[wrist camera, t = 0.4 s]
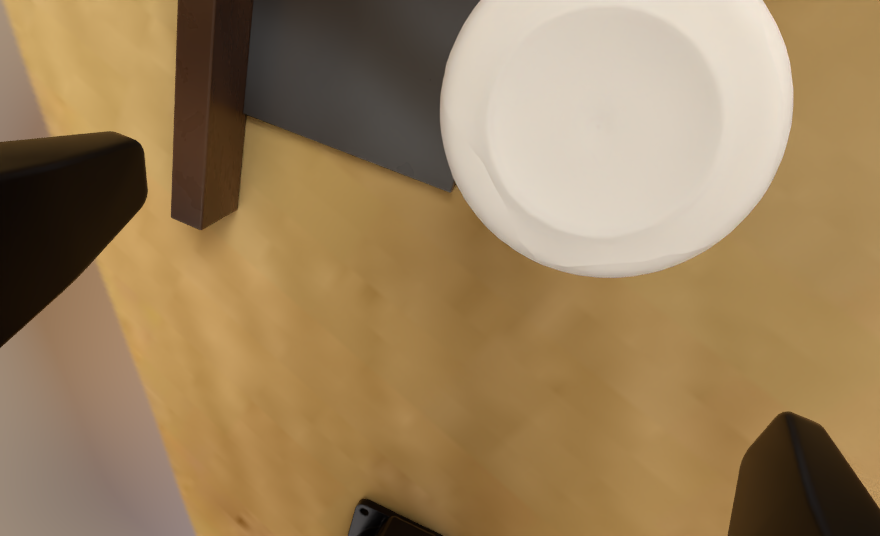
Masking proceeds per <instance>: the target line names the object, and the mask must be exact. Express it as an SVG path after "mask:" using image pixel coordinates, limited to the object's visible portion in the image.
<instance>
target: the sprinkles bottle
mask: <svg viewBox="0 0 880 536" xmlns="http://www.w3.org/2000/svg"><path fill="white" fill-rule="evenodd" d="M792 113H793V84H792V75H791V67H790V61H789V57H788V53H787V49H786V46H785V43H784V41H783V38H782V36H781V33H780V31H779V29H778V26H777V24H776V22H775V20H774V19H773V17H772V15H771V13H770V12H769V10H768V8H767V6H766V5H765V3H764V2H763V1H762V0H480V1H479V3H478V4H477V5H476V6H475V8H474V9H473V11H472V12H471V14H470V15H469V17H468V18H467V20H466V21H465V23H464V25H463V26H462V28H461V30H460V32H459V34H458V36H457V38H456V41H455V43H454V45H453V48H452V50H451V52H450V55H449V58H448V61H447V63H446V68H445V74H444V78H443V83H442V89H441V96H440V126H441V135H442V140H443V146H444V150H445V154H446V157H447V161H448V164H449V167H450V170H451V173H452V176H453V178H454V180H455V182H456V185H457V186H458V188H459V190H460V191H461V193H462V195H463V197H464V199H465V200H466V202H467V203H468V205H469V206H470V207H471V209H472V210H473V211H474V213H475V214H476V215H477V217H478V218H479V219H480V220H481V221H482V222H483V224H484V225H485V226H486V227H487V228H488V229H489V230H490V231H491V232H492V233H493V234H495V235H496V236H497V237H498V238H499V239H500V240H502V241H503V242H504V243H506V244H507V245H509V246H510V247H511V248H513V249H514V250H515V251H517V252H519V253H520V254H522V255H524V256H526V257H527V258H529V259H531V260H533V261H535V262H537V263H539V264H541V265H544V266H547V267H550V268H553V269H556V270H559V271H562V272H567V273H571V274H575V275H581V276H589V277H598V278H620V277H632V276H638V275H643V274H648V273H653V272H657V271H662V270H664V269H666V268H669V267H673V266H675V265H678V264H680V263H683V262H685V261H687V260H689V259H691V258H693V257H695V256H697V255H699V254H701V253H703V252H704V251H706V250H708V249H709V248H710V247H712V246H713V245H715V244H716V243H718V242H719V241H720V240H722V239H723V238H724V237H725V236H727V235H728V234H729V233H730V232H732V231H733V230H734V229H735V228H736V227H737V226H738V225H739V224H740V223H741V222H742V221H743V220H744V219H745V218H746V217H747V216H748V215H749V213H750V212H751V211H752V210H753V208H754V207H755V206H756V205H757V204H758V202H759V201H760V200H761V198H762V197H763V195H764V194H765V192H766V191H767V189H768V188H769V186H770V184H771V182H772V180H773V178H774V176H775V174H776V172H777V169H778V167H779V165H780V162H781V160H782V158H783V155H784V151H785V148H786V145H787V141H788V137H789V133H790V129H791V124H792Z"/></svg>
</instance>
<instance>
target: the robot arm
mask: <svg viewBox="0 0 880 536" xmlns="http://www.w3.org/2000/svg"><path fill="white" fill-rule="evenodd" d="M147 193H148V188H147V178H146V167H145V157H144V150H143V148H142V146H141V144H140V143H139V142H137V141H136V140H134V139H131V138H129V137H127V136H124V135H122V134H119V133H116V132H111V131H109V132H98V133H88V134H78V135H67V136H57V137H47V138H37V139H28V140H17V141H6V142H0V348H1V347H2V346H3V345H4V344H5V343H6V342H7V341H8V340H9V339H11V338H12V337H13V336H14V335H15V334H16V333H17V332H18V331H20V330H21V329H22V328H23V327H24V326H25V325H26V324H27V323H28V322H29V321H31V320H32V319H33V318H34V317H35V316H36V315H37V314H38V313H40V312H41V311H42V310H43V309H44V308H45V307H46V306H47V305H49V303H51V302H52V301H53V300H54V299H55V298H56V297H57V296H58V295H60V294H61V293H62V292H63V291H64V290H65V289H66V288H67V287H68V286H69V285H71V283H73V282H74V281H75V280H76V279H77V278H78V277H79V276H80V274H81V273H82V272H83V271H84V270H85V269H86V268H87V267H88V266H89V265H90V264H91V263H92V262H93V261H94V259H95V258H96V257H97V256H98V255H99V254H100V253H101V252H102V251H103V250H104V248H105V247H106V246H107V245H108V244H109V243H110V242H111V241H112V240H113V239H114V237H115V236H116V235H117V234H118V233H119V232H120V231H121V230H122V229H123V227H124V226H125V225H126V224H127V223H128V222H129V221H130V220H131V219H132V218H133V216H134V215H135V214H136V213H137V212H138V211H139V210H140V209H141V207H142V206H143V204H144V203H145V200H146V198H147ZM348 536H443V535H441V534H439V533H437V532H435V531H432V530H430V529H428V528H426V527H424V526H422V525H420V524H418V523H416V522H414V521H412V520H410V519H408V518H406V517H403V516H401V515H399V514H397V513H395V512H393V511H391V510H389V509H387V508H385V507H383V506H381V505H379V504H377V503H374V502H372V501H370V500H368V499H362V500H360V501H359V503H358V505H357V506H356V508H355V512H354V516H353V519H352V523H351V527H350V530H349V534H348ZM728 536H880V509H879V507H878V506H877V504H876V503H875V501H874V500H873V498H872V497H871V496H870V494H869V493H868V491H867V490H866V488H865V487H864V485H863V484H862V483H861V481H860V480H859V478H858V477H857V475H856V474H855V472H854V471H853V469H852V468H851V467H850V465H849V464H848V462H847V461H846V459H845V458H844V456H843V455H842V454H841V452H840V451H839V449H838V448H837V446H836V445H835V443H834V442H833V441H832V439H831V438H830V436H829V435H828V433H827V432H826V430H825V429H824V428H823V427H822V426H821V425H820V424H818V423H816V422H814V421H812V420H809V419H807V418H804V417H802V416H800V415H797V414H795V413H792V412H782V413H780V414H779V415H778V416H776V417H775V418H774V420H773V421H772V422H771V423H770V424H769V425H768V427H767V428H766V429H765V430H764V431H763V432H762V434H761V435H760V436H759V437H758V438H757V439H756V441H755V442H754V443H753V444H752V445H751V446H750V447H749V449H748V450H747V452H746V453H745V455H744V457H743V460H742V462H741V466H740V470H739V476H738V481H737V487H736V492H735V498H734V503H733V509H732V514H731V520H730V525H729V531H728Z"/></svg>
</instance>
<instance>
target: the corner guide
mask: <svg viewBox="0 0 880 536" xmlns="http://www.w3.org/2000/svg"><path fill="white" fill-rule="evenodd" d="M479 1H480V0H178V15H177V46H176V76H175V107H174V138H173V169H172V200H171V218H173V219H175V220H178V221H180V222H182V223H185V224H187V225H189V226H192V227H194V228H197V229H199V230H203V229H205V228H206V227H208V226H210V225H211V224H213V223H215V222H217V221H218V220H220V219H222V218H223V217H225V216H227V215H229V214H230V213H232V212H234V211H236V210H237V207H238V196H239V185H240V175H241V164H242V153H243V142H244V131H245V121H246V115H249V116H251V117H254V118H257V119H259V120H262V121H265V122H267V123H270V124H272V125H275V126H278V127H280V128H283V129H285V130H288V131H291V132H293V133H296V134H298V135H301V136H304V137H306V138H309V139H312V140H314V141H317V142H319V143H322V144H325V145H327V146H330V147H332V148H335V149H338V150H340V151H343V152H345V153H348V154H351V155H353V156H356V157H359V158H361V159H364V160H366V161H369V162H372V163H374V164H377V165H379V166H382V167H385V168H387V169H390V170H393V171H395V172H398V173H400V174H403V175H406V176H408V177H411V178H413V179H416V180H419V181H421V182H424V183H426V184H429V185H432V186H434V187H437V188H440V189H442V190H445V191H447V192H450V193H451V192H452V191H453V189H454V185H455V180H454V178H453V176H452V173H451V170H450V167H449V164H448V161H447V157H446V154H445V150H444V146H443V140H442V135H441V126H440V96H441V89H442V83H443V78H444V74H445V68H446V63H447V61H448V58H449V55H450V52H451V50H452V48H453V45H454V43H455V41H456V38H457V36H458V34H459V32H460V30H461V28H462V26H463V25H464V23H465V21H466V20H467V18H468V17H469V15H470V14H471V12H472V11H473V9H474V8H475V6H476V5H477V4H478V3H479Z"/></svg>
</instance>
